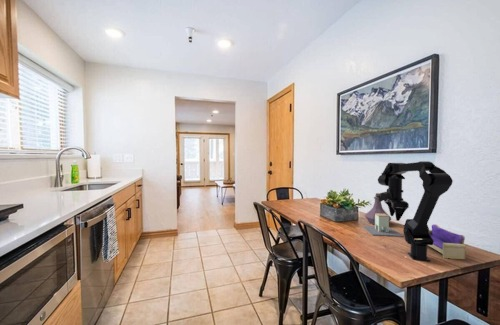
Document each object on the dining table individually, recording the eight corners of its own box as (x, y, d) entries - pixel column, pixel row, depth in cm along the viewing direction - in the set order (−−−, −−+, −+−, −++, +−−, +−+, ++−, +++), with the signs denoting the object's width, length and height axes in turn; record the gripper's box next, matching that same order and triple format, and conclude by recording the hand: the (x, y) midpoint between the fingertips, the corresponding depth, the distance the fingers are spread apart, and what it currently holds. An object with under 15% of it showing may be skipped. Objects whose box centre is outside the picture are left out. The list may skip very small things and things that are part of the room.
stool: (388, 232, 129) (388, 215, 129) (378, 231, 130) (379, 215, 130) (384, 229, 135) (384, 213, 135) (374, 228, 135) (375, 213, 135)
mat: (403, 236, 123) (403, 235, 123) (373, 235, 125) (373, 234, 125) (389, 228, 139) (389, 227, 139) (362, 226, 141) (362, 225, 141)
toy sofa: (415, 241, 117) (415, 222, 116) (433, 242, 115) (433, 223, 115) (444, 259, 96) (444, 235, 96) (467, 260, 95) (467, 236, 94)
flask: (370, 218, 161) (370, 191, 161) (396, 223, 149) (396, 193, 148) (359, 222, 151) (359, 193, 151) (386, 228, 138) (386, 196, 138)
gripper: (373, 184, 124) (372, 212, 124) (381, 189, 106) (381, 221, 106) (396, 185, 120) (395, 214, 121) (409, 190, 103) (408, 223, 103)
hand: (394, 218), depth 113 cm, fingers open, 9 cm apart
